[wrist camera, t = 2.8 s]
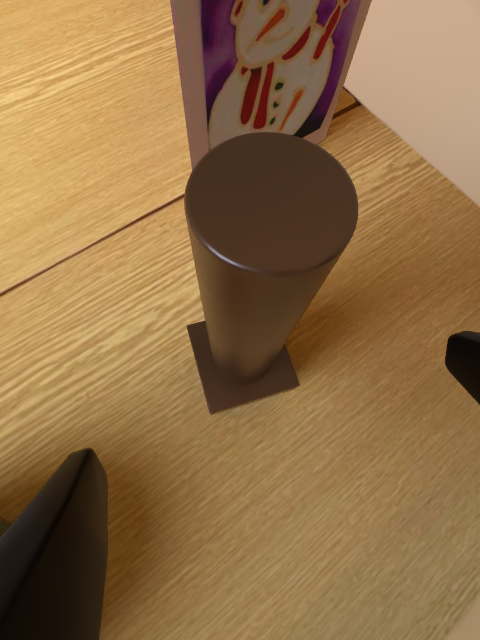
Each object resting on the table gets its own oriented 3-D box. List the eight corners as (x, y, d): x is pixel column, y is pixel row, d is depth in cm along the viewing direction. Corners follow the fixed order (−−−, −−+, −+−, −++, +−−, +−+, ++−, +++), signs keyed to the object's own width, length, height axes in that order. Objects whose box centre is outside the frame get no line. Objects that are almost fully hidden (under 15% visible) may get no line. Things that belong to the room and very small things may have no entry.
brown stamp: (284, 396, 18) (459, 279, 4) (213, 418, 17) (168, 362, 4) (261, 329, 19) (344, 80, 6) (194, 347, 18) (111, 121, 5)
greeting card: (205, 221, 21) (163, -210, 7) (145, 149, 23) (17, -307, 9) (332, 146, 24) (488, -277, 10) (270, 87, 26) (324, -340, 11)
